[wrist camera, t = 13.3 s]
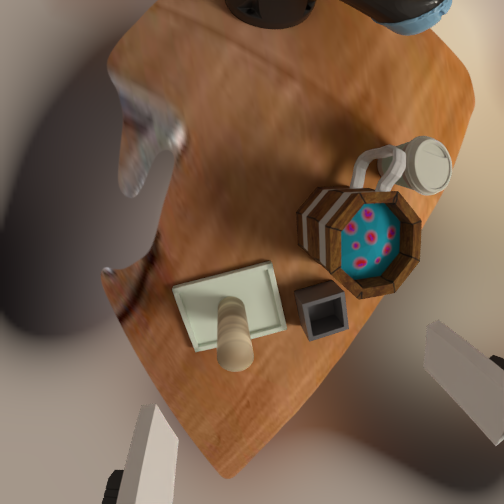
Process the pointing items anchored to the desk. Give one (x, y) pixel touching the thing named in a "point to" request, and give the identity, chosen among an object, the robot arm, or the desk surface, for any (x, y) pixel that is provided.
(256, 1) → the robot arm
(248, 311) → the tray
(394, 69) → the desk surface
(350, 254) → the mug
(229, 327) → the dowel
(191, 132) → the desk surface
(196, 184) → the desk surface
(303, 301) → the pen cup
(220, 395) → the desk surface
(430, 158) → the coffee cup
